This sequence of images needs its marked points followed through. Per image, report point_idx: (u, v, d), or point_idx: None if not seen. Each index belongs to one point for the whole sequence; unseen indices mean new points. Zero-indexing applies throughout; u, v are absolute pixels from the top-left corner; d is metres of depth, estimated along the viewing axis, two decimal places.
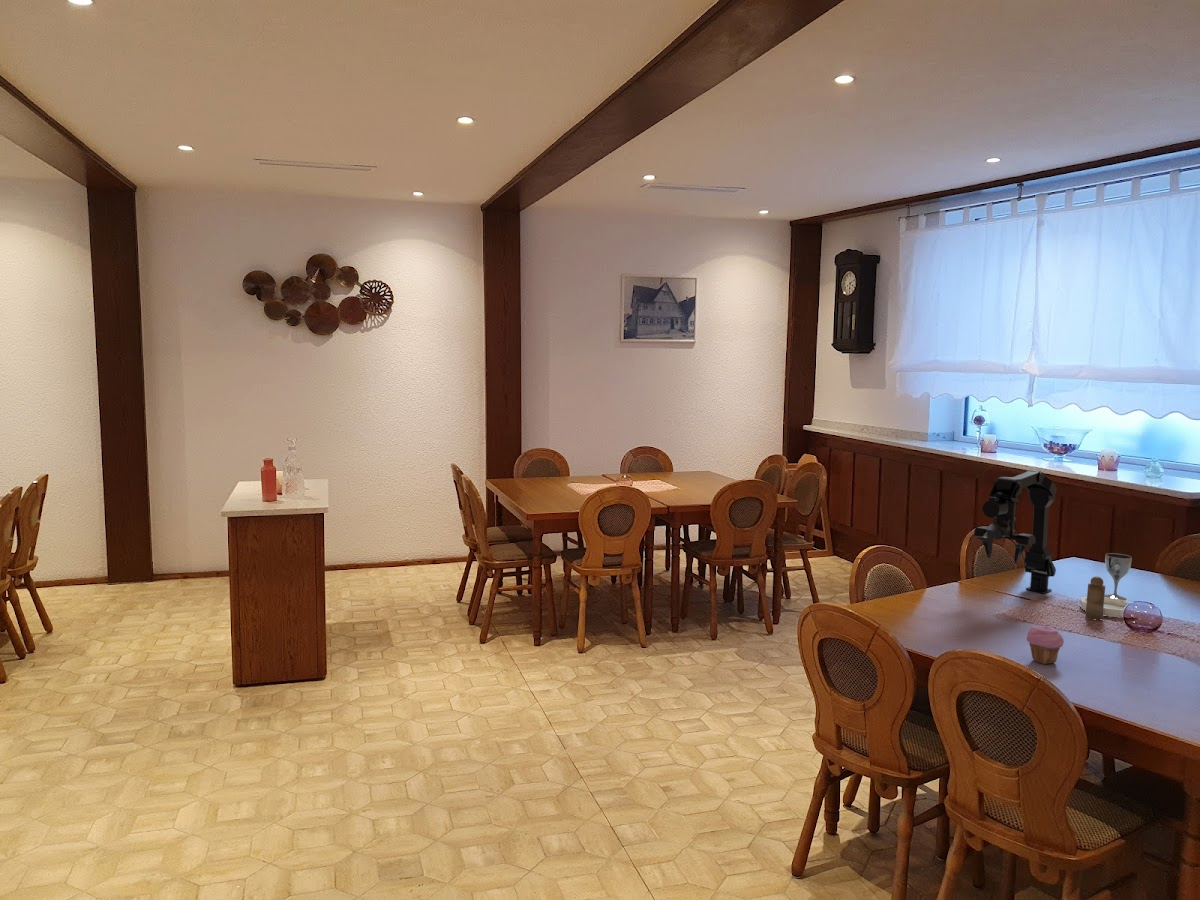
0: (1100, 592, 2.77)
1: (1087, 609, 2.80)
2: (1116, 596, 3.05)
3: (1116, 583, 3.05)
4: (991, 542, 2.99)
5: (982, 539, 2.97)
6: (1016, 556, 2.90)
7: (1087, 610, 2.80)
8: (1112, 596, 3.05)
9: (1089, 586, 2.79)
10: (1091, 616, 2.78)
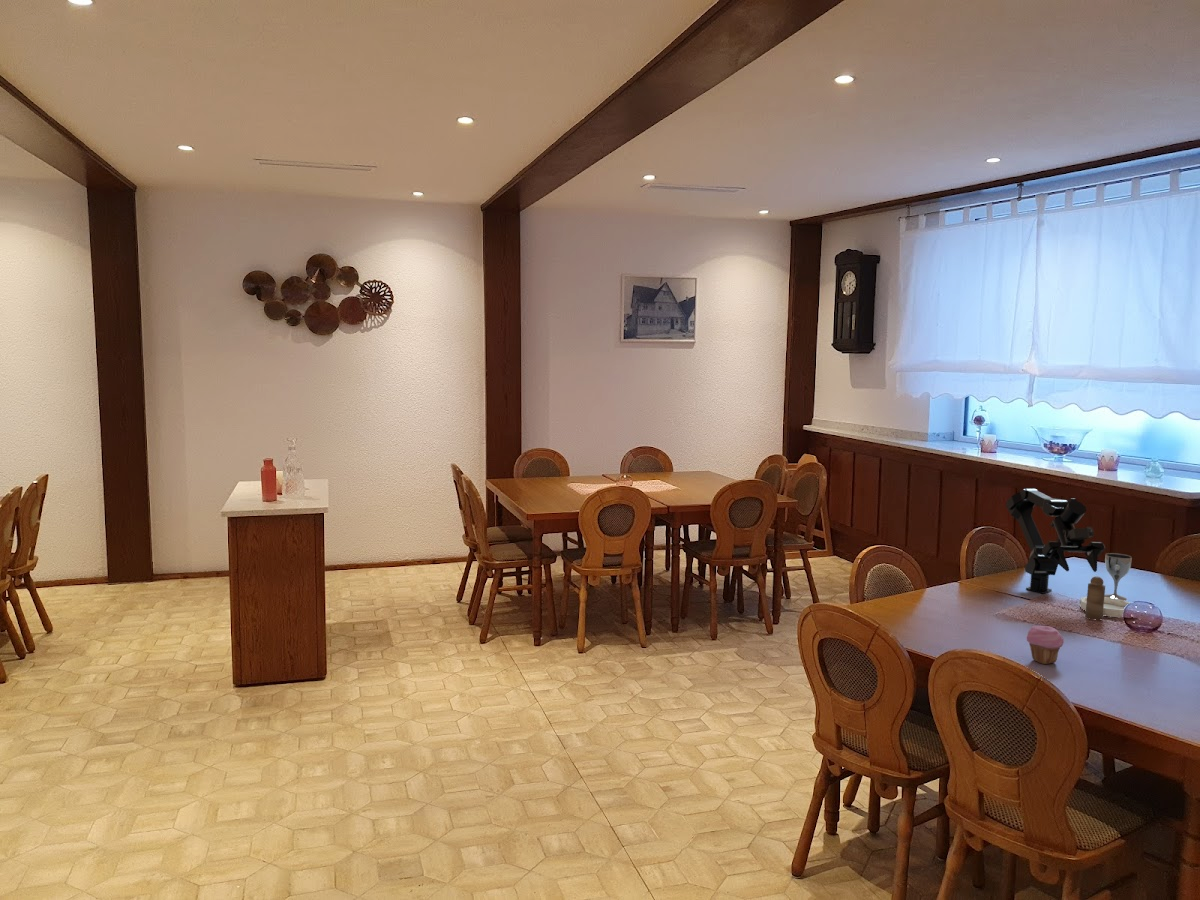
0: (1100, 592, 2.77)
1: (1087, 609, 2.80)
2: (1116, 596, 3.05)
3: (1116, 583, 3.05)
4: None
5: (1060, 550, 2.89)
6: (1096, 563, 2.88)
7: (1087, 610, 2.80)
8: (1112, 596, 3.05)
9: (1089, 586, 2.79)
10: (1091, 616, 2.78)
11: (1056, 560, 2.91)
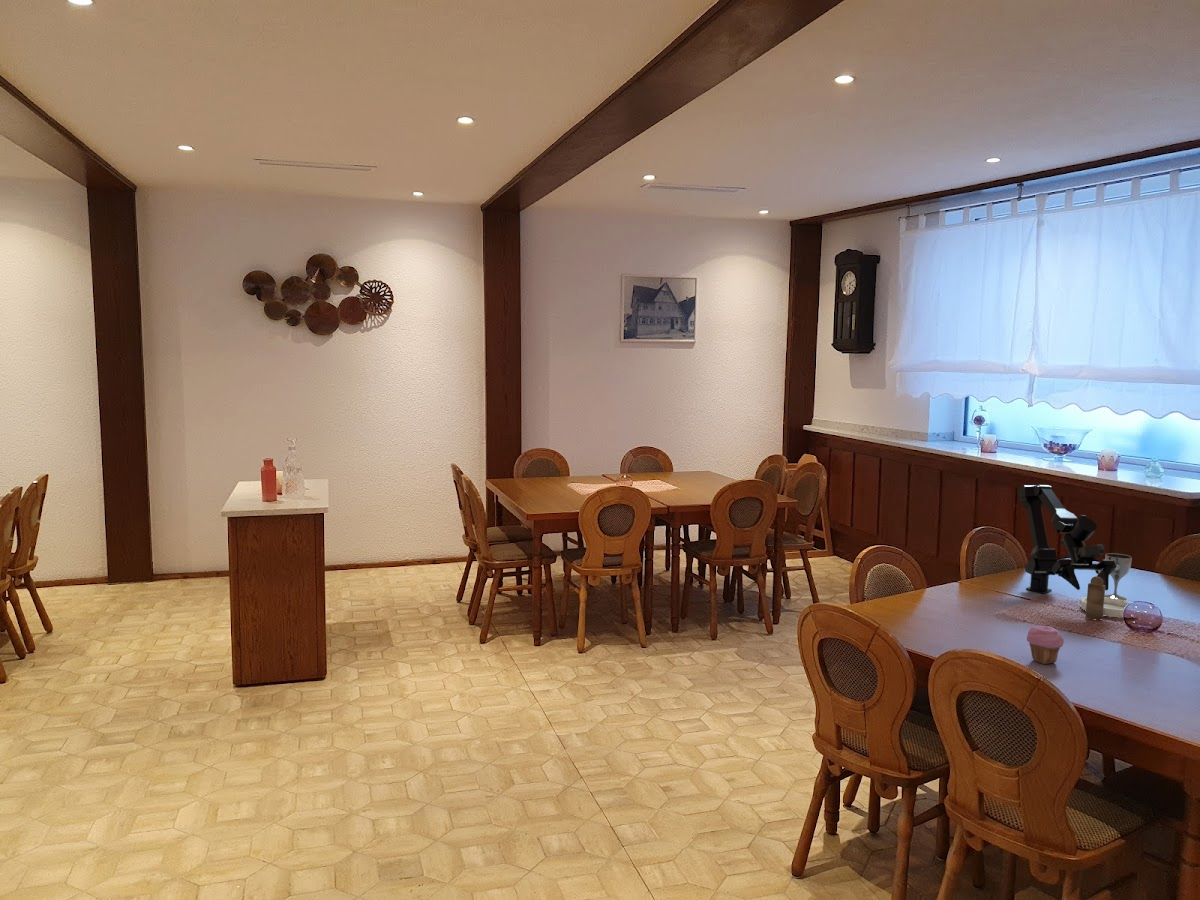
0: (1100, 592, 2.77)
1: (1087, 609, 2.80)
2: (1116, 596, 3.05)
3: (1116, 583, 3.05)
4: None
5: (1071, 567, 2.83)
6: (1107, 581, 2.82)
7: (1087, 610, 2.80)
8: (1112, 596, 3.05)
9: (1089, 586, 2.79)
10: (1091, 616, 2.78)
11: (1066, 578, 2.85)
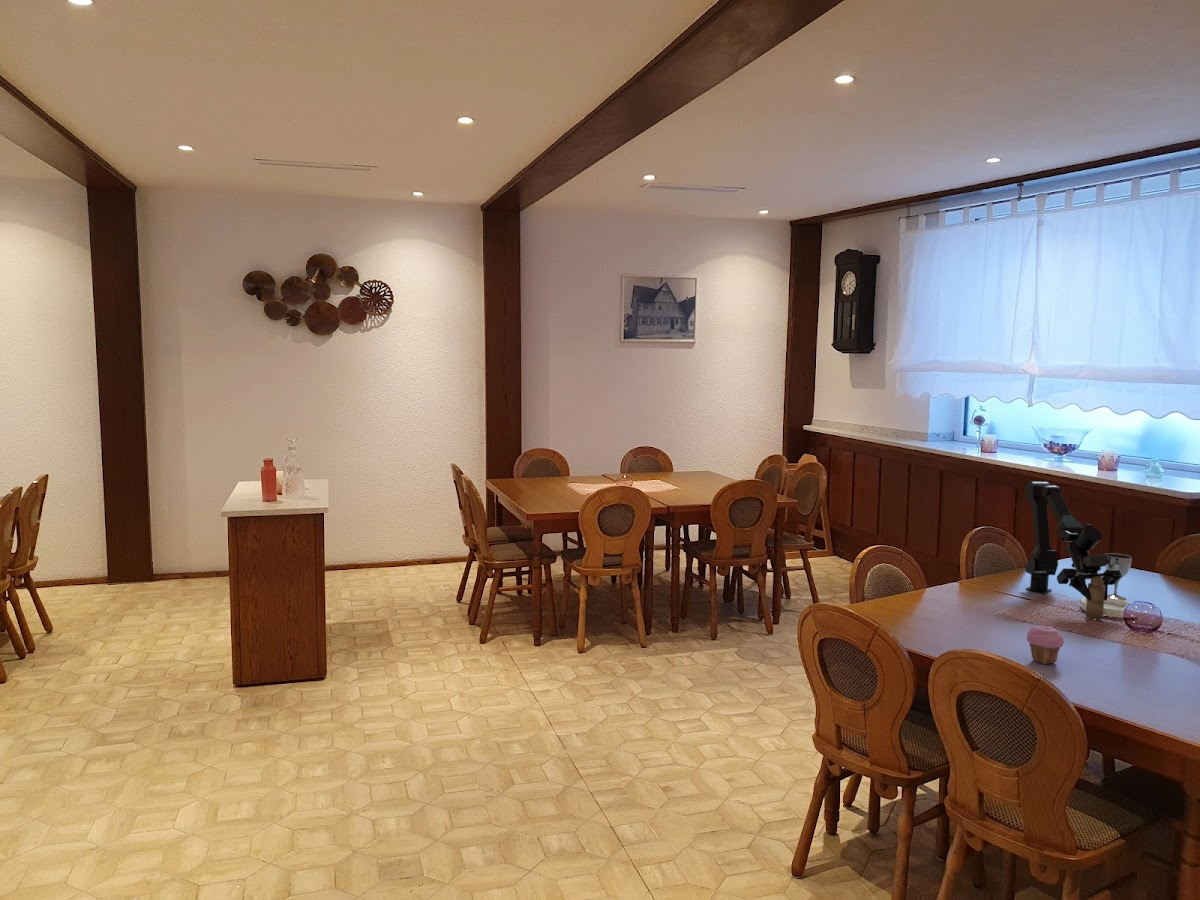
0: (1100, 592, 2.77)
1: (1087, 609, 2.80)
2: (1116, 596, 3.05)
3: (1116, 583, 3.05)
4: None
5: (1082, 577, 2.80)
6: (1106, 591, 2.79)
7: (1087, 610, 2.80)
8: (1112, 596, 3.05)
9: (1089, 586, 2.79)
10: (1091, 616, 2.78)
11: (1077, 588, 2.82)
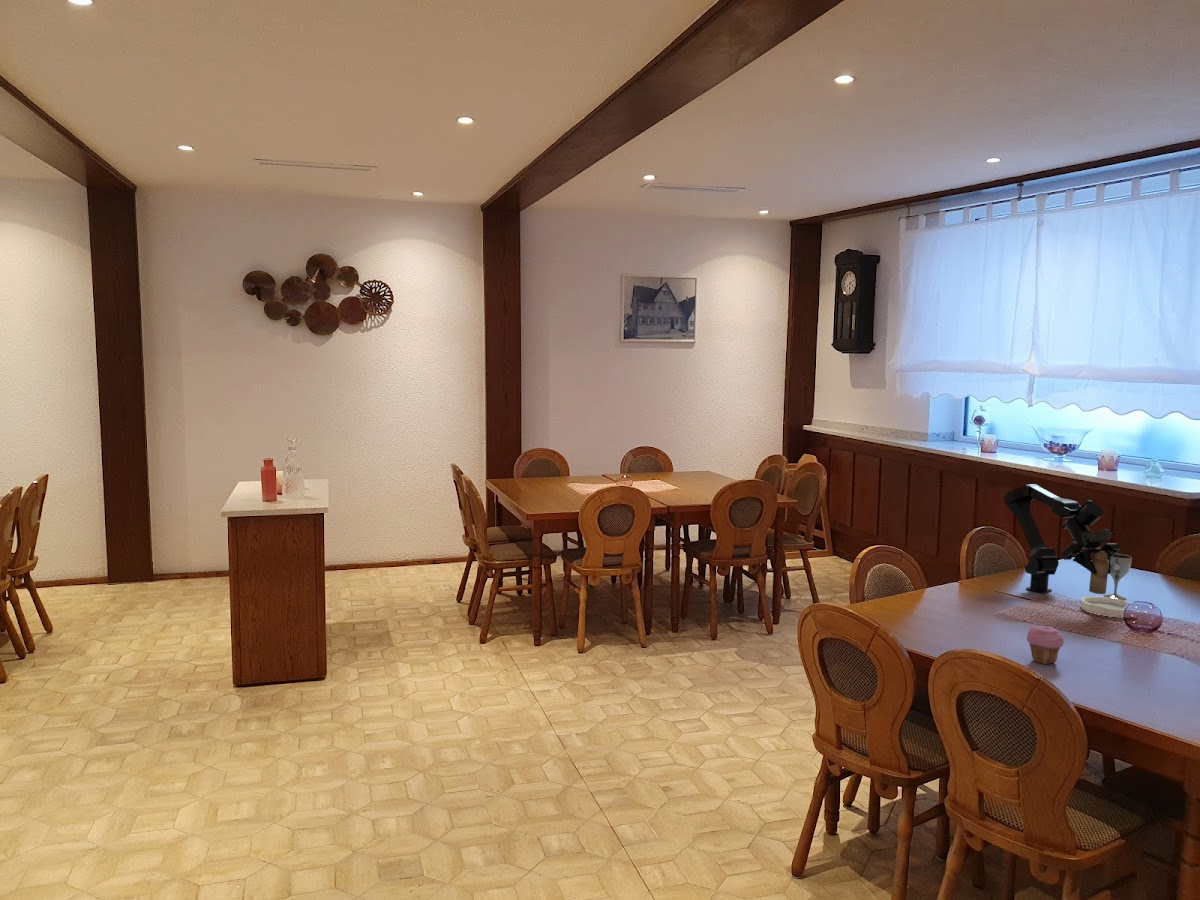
0: (1105, 566, 2.83)
1: (1092, 583, 2.86)
2: (1116, 596, 3.05)
3: (1116, 583, 3.05)
4: None
5: (1087, 553, 2.86)
6: None
7: (1092, 584, 2.86)
8: (1112, 596, 3.05)
9: (1094, 561, 2.85)
10: (1096, 590, 2.85)
11: (1081, 563, 2.88)
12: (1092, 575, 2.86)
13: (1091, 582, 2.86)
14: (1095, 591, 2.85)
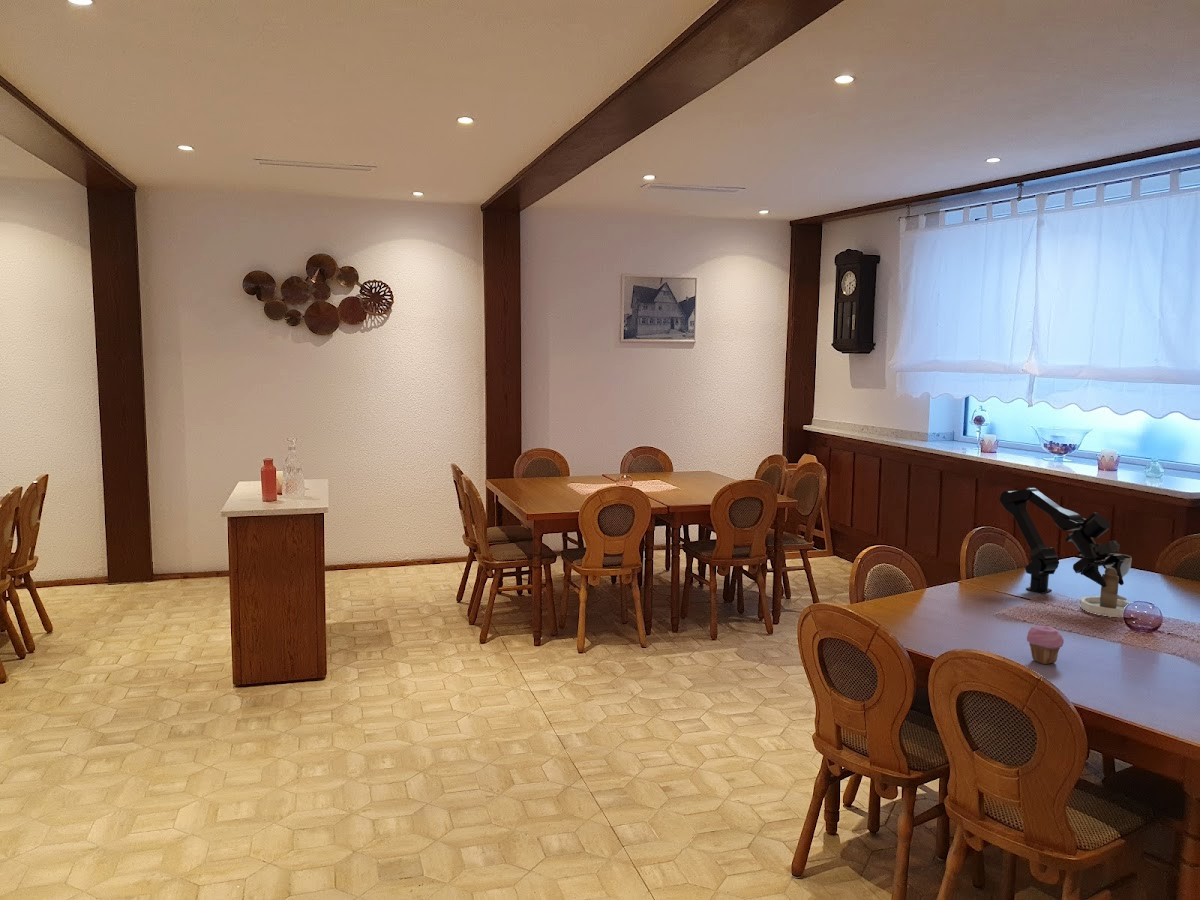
0: (1116, 582, 2.86)
1: (1103, 600, 2.88)
2: None
3: None
4: None
5: (1096, 566, 2.86)
6: (1121, 576, 2.89)
7: (1103, 601, 2.88)
8: None
9: (1105, 577, 2.87)
10: (1108, 607, 2.87)
11: (1089, 576, 2.88)
12: (1103, 592, 2.88)
13: (1102, 599, 2.88)
14: (1107, 607, 2.87)
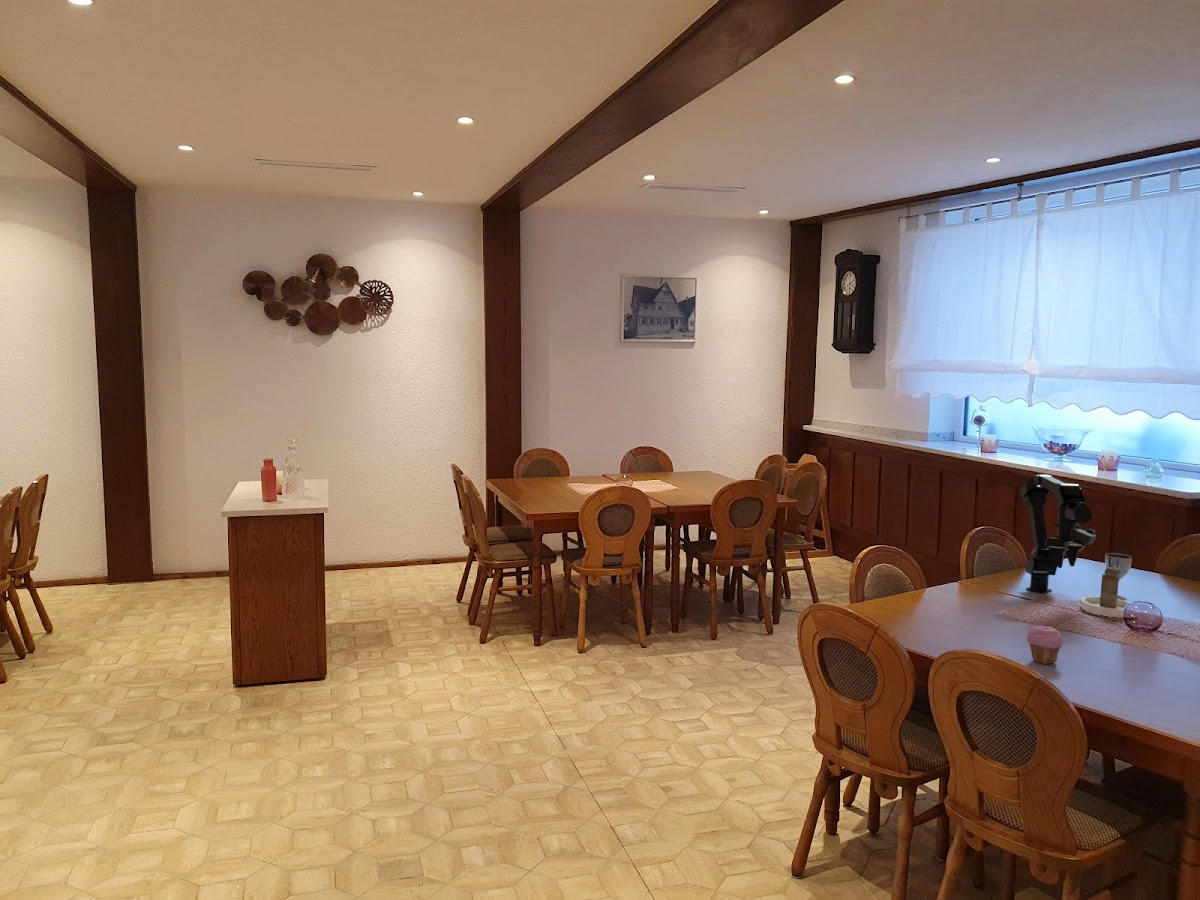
0: (1116, 582, 2.86)
1: (1103, 600, 2.88)
2: None
3: None
4: None
5: (1066, 549, 2.88)
6: None
7: (1103, 601, 2.88)
8: None
9: (1105, 577, 2.87)
10: (1108, 607, 2.87)
11: (1053, 553, 2.92)
12: (1103, 592, 2.88)
13: (1102, 599, 2.88)
14: (1107, 607, 2.87)
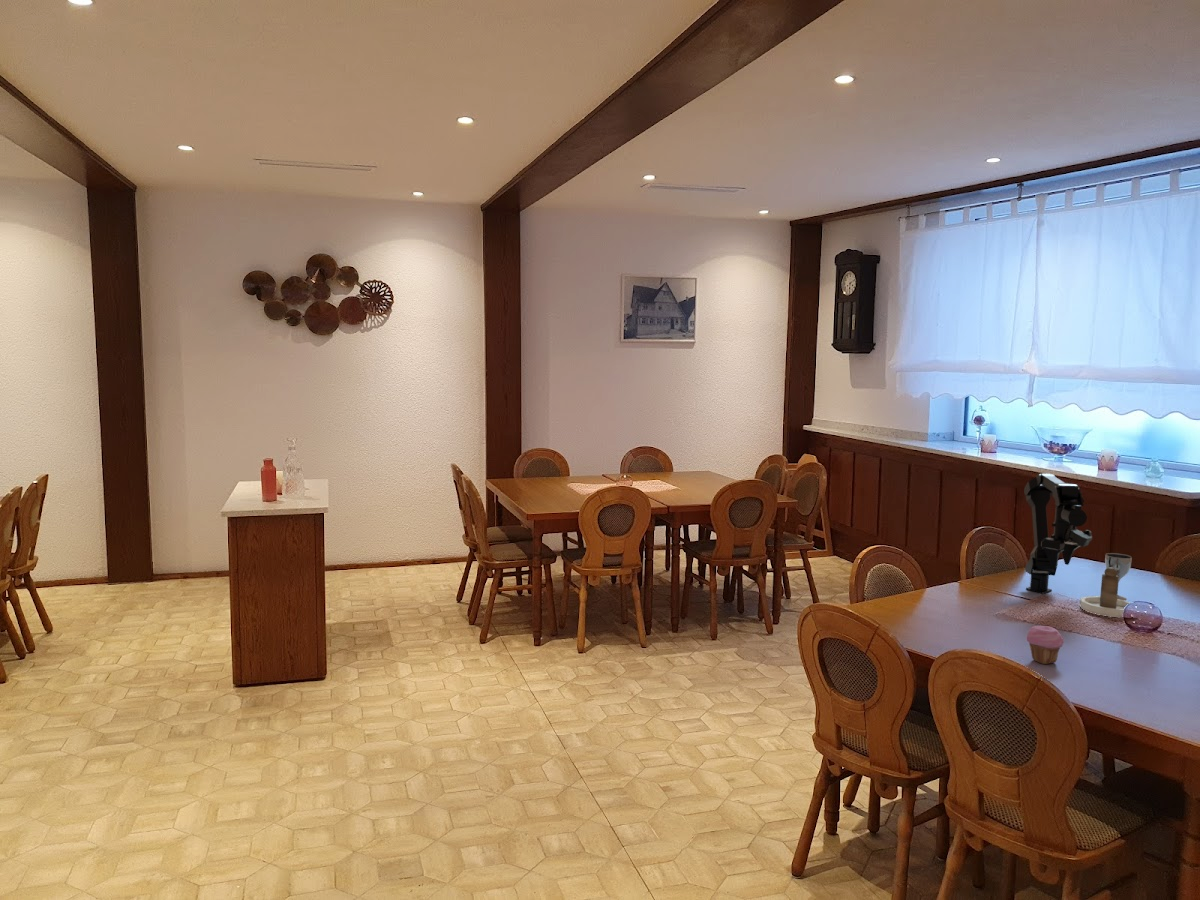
0: (1116, 582, 2.86)
1: (1103, 600, 2.88)
2: None
3: None
4: None
5: (1061, 551, 2.89)
6: (1071, 557, 2.97)
7: (1103, 601, 2.88)
8: None
9: (1105, 577, 2.87)
10: (1108, 607, 2.87)
11: (1048, 553, 2.92)
12: (1103, 592, 2.88)
13: (1102, 599, 2.88)
14: (1107, 607, 2.87)
